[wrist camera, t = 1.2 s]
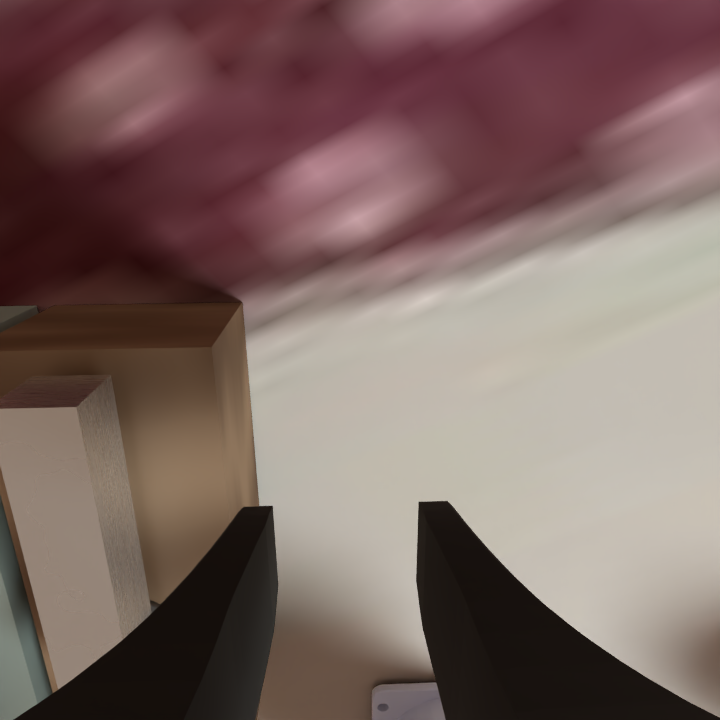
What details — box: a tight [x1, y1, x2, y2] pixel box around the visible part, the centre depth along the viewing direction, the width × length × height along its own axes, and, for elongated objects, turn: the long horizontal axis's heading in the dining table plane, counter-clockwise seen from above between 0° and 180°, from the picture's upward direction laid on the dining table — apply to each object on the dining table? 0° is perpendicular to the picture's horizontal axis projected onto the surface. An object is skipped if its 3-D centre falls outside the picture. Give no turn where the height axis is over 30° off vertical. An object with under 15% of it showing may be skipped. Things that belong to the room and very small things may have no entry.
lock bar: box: [0, 375, 152, 689], centre depth 15 cm, size 11×3×3 cm, turn 1°
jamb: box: [0, 302, 260, 720], centre depth 19 cm, size 15×6×5 cm, turn 1°
